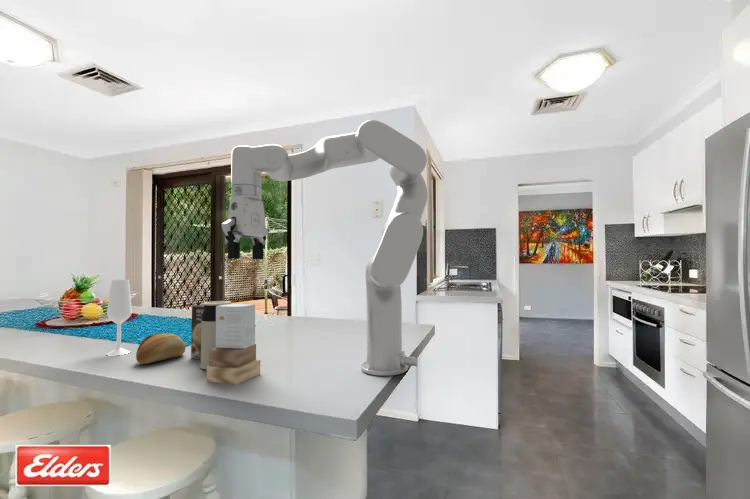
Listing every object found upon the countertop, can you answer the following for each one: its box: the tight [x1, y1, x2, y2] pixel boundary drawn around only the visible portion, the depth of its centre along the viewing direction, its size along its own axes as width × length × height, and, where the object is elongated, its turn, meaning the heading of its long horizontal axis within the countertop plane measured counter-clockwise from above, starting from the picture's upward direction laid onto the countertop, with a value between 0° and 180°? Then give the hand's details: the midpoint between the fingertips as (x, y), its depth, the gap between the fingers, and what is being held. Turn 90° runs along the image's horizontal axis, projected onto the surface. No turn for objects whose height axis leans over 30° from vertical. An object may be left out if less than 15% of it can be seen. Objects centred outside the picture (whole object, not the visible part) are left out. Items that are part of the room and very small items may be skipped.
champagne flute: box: [106, 279, 133, 357], centre depth 116 cm, size 7×7×24 cm
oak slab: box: [206, 358, 261, 386], centre depth 90 cm, size 9×9×4 cm
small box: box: [216, 303, 256, 349], centre depth 91 cm, size 8×6×10 cm
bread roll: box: [135, 332, 186, 365], centre depth 107 cm, size 10×15×8 cm, turn 164°
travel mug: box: [200, 300, 233, 371], centre depth 100 cm, size 8×8×18 cm
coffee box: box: [190, 304, 205, 360], centre depth 111 cm, size 9×6×16 cm
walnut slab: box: [209, 343, 257, 368], centre depth 90 cm, size 8×8×4 cm
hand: (246, 259), depth 93 cm, fingers open, 9 cm apart
